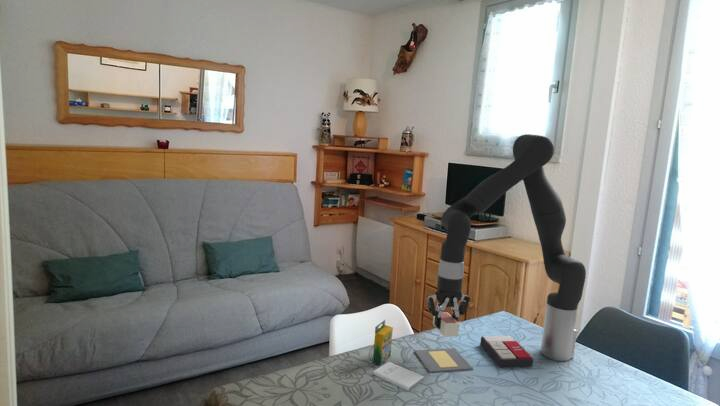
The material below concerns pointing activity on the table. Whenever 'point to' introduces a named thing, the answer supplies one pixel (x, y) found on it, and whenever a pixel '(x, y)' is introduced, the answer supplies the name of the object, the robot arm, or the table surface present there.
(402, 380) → the external hard drive
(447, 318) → the card deck
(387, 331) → the crayon box
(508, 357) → the calculator
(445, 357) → the rubber mat
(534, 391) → the table surface
